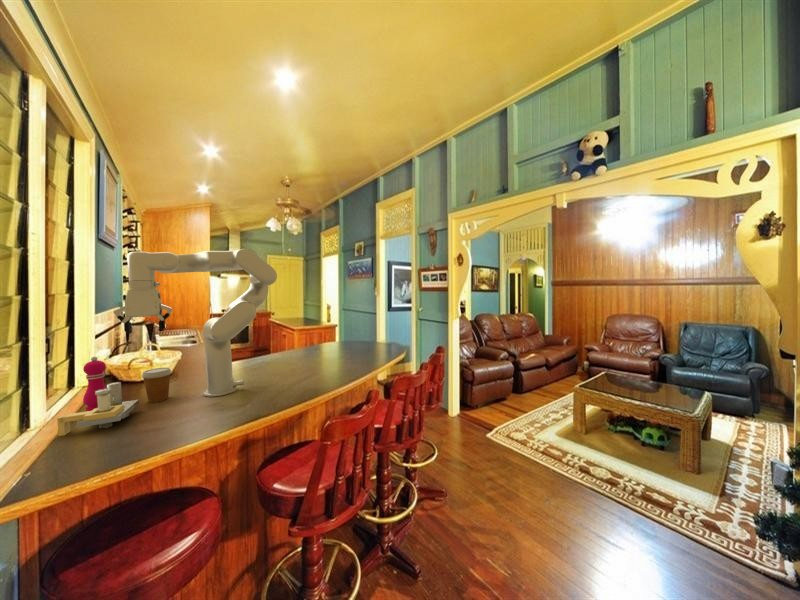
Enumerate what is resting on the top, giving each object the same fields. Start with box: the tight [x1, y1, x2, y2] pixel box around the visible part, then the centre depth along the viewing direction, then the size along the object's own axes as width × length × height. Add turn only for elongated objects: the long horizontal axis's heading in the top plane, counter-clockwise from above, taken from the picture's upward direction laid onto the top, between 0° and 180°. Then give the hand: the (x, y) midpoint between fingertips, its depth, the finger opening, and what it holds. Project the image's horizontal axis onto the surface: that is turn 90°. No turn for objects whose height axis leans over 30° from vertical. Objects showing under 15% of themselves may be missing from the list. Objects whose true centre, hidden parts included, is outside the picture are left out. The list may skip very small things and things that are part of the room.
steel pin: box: [95, 387, 113, 430], centre depth 100 cm, size 4×4×12 cm
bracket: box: [56, 404, 124, 437], centre depth 99 cm, size 14×7×6 cm, turn 114°
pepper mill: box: [82, 356, 107, 412], centre depth 116 cm, size 7×7×20 cm
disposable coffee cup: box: [141, 367, 172, 403], centre depth 125 cm, size 10×10×12 cm
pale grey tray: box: [76, 381, 140, 428], centre depth 104 cm, size 10×17×12 cm, turn 24°
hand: (145, 332), depth 116 cm, fingers open, 9 cm apart
